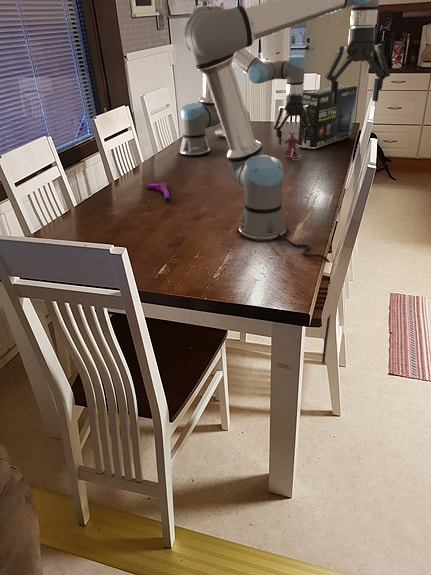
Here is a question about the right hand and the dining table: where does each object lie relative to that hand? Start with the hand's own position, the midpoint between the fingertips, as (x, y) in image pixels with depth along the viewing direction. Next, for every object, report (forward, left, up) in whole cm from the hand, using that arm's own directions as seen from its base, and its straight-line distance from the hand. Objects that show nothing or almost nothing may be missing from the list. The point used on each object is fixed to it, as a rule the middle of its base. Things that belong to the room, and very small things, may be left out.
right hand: (354, 102), depth 149 cm
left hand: (+40, -50, -28) cm, 70 cm away
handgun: (+69, +18, -36) cm, 80 cm away
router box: (+35, -84, -36) cm, 98 cm away
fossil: (+90, -80, -36) cm, 126 cm away
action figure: (+40, -50, -36) cm, 73 cm away
